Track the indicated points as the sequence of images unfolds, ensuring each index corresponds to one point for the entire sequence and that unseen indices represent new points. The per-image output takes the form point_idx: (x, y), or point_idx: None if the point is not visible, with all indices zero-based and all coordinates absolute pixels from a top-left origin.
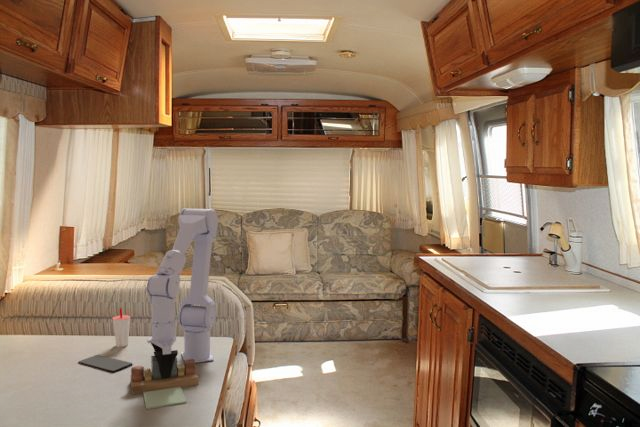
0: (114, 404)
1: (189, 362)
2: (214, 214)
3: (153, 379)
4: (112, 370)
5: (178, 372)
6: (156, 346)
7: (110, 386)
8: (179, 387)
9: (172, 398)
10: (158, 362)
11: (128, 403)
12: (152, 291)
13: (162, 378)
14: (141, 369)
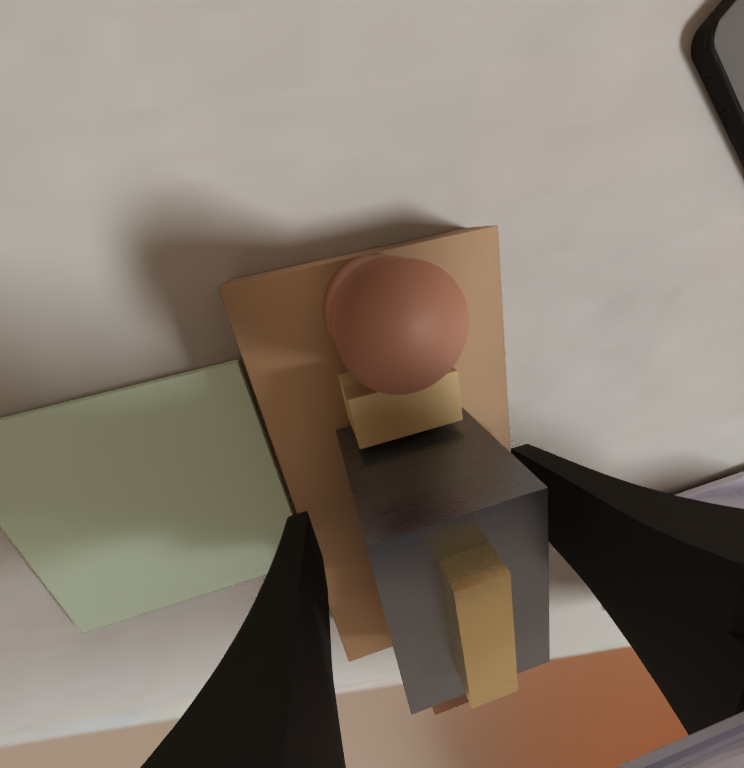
0: (14, 150)
1: None
2: None
3: (338, 437)
4: (722, 24)
5: None
6: (688, 581)
7: (423, 51)
8: None
9: (123, 559)
10: (211, 675)
11: (49, 276)
12: None
13: (287, 522)
14: (359, 381)
